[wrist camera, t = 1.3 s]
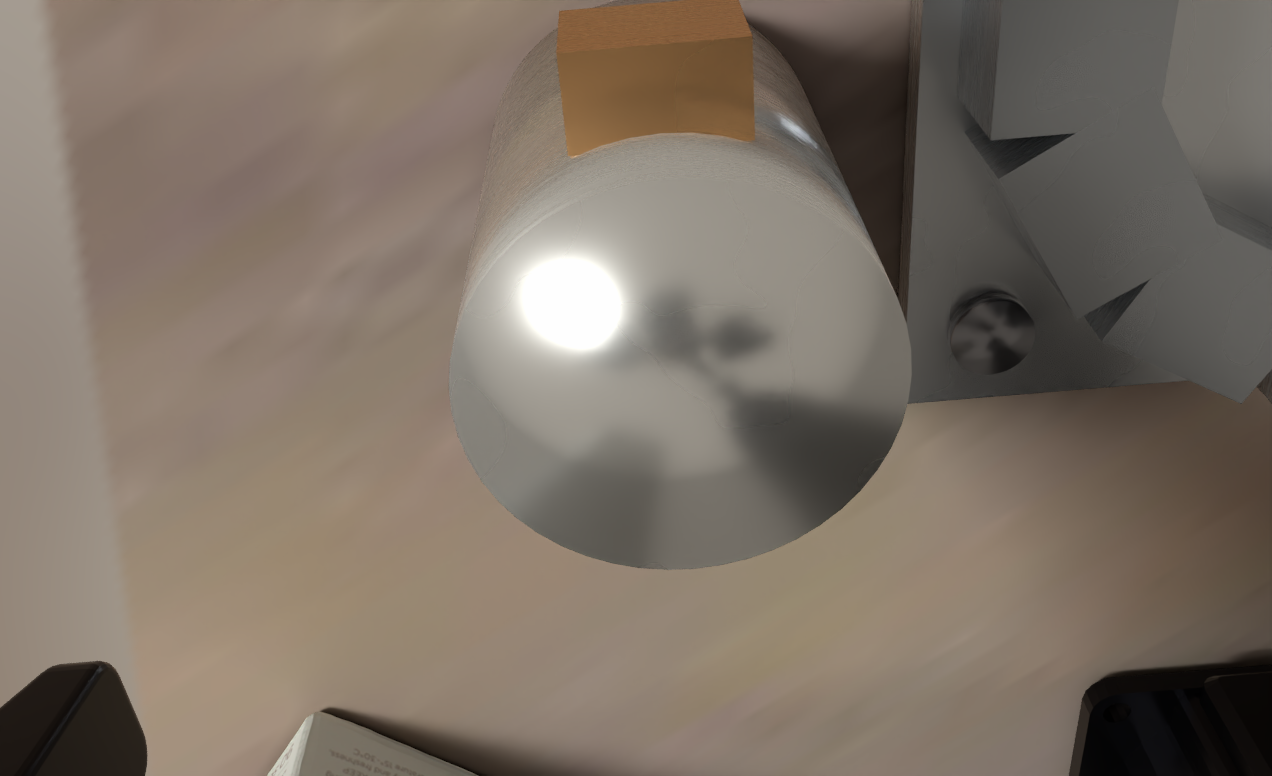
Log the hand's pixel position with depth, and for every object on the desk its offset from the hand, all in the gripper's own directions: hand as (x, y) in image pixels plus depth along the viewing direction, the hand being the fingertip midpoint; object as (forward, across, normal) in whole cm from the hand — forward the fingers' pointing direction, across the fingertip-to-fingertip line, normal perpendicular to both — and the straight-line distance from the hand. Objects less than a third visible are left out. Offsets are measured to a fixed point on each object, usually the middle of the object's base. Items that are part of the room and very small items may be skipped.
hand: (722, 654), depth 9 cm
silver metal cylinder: (+9, 0, 0) cm, 9 cm away
